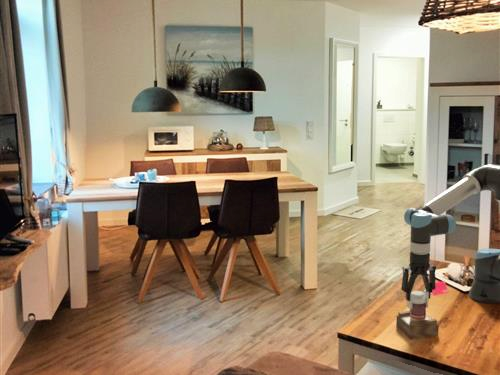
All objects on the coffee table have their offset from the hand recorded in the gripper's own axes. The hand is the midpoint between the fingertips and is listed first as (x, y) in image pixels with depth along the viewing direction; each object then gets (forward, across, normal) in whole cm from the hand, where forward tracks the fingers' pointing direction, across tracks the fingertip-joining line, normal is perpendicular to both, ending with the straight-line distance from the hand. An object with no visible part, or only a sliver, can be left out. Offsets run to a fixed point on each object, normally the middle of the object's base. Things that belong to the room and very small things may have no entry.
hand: (417, 307), depth 217 cm
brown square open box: (+10, 0, 0) cm, 10 cm away
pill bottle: (+5, 0, 0) cm, 5 cm away
